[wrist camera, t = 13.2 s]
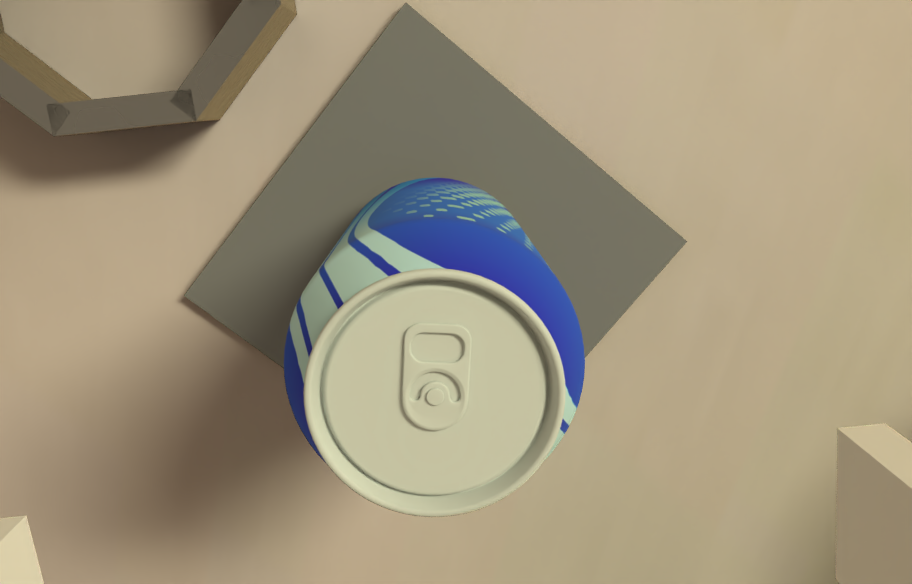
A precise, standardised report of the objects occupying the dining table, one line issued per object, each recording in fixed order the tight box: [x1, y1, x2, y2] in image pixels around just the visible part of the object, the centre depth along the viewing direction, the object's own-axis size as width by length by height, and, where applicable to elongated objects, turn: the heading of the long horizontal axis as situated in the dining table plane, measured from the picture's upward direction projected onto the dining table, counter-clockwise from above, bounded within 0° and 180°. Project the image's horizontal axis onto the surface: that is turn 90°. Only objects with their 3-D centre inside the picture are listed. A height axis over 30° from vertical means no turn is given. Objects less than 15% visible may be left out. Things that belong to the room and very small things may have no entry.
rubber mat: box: [184, 3, 687, 368], centre depth 35 cm, size 16×16×1 cm
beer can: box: [284, 178, 585, 517], centre depth 27 cm, size 8×8×16 cm
